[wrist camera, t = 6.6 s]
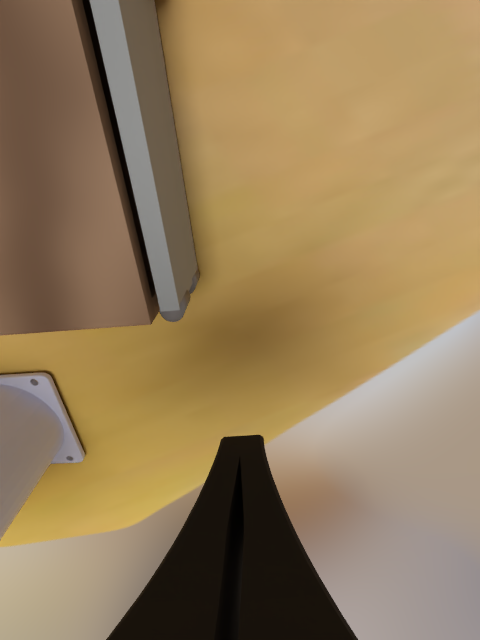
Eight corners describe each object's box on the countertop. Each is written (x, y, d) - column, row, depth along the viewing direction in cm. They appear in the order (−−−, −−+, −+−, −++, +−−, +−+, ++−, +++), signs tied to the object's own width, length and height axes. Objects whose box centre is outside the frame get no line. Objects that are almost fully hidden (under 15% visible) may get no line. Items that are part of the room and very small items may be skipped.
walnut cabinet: (67, 287, 19) (-1, 335, 14) (-42, -21, 13) (-227, -131, 8) (178, 278, 18) (150, 324, 13) (117, -45, 12) (26, -181, 7)
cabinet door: (183, 282, 18) (161, 324, 14) (124, -40, 12) (51, -152, 8) (210, 280, 18) (196, 322, 13) (163, -46, 12) (111, -163, 8)
